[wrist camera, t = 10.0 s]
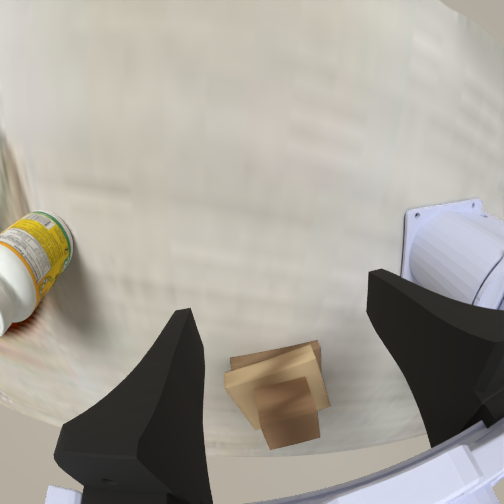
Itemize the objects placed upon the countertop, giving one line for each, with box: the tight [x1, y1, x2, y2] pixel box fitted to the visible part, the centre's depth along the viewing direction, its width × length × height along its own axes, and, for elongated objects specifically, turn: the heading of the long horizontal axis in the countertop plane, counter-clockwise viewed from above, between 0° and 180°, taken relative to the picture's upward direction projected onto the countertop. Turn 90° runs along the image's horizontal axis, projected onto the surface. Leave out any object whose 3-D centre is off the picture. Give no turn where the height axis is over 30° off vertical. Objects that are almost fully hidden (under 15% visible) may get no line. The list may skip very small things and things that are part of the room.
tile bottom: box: [230, 340, 321, 373], centre depth 28 cm, size 8×8×2 cm
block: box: [254, 376, 320, 450], centre depth 23 cm, size 4×4×4 cm
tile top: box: [224, 345, 331, 430], centre depth 26 cm, size 8×8×2 cm
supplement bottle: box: [0, 210, 73, 337], centre depth 15 cm, size 5×5×10 cm
